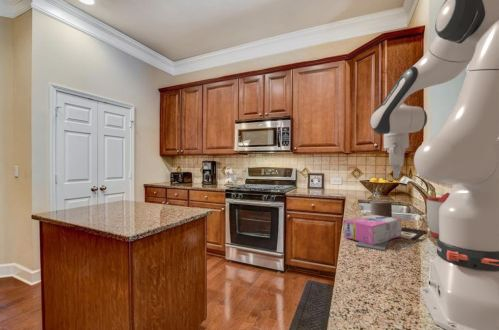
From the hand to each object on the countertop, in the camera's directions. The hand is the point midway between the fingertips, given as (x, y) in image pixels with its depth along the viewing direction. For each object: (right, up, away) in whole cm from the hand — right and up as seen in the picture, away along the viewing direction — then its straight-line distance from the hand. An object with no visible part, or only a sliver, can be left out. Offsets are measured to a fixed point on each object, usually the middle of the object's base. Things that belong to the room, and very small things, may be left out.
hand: (397, 178), depth 98 cm
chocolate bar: (+15, -28, +15) cm, 35 cm away
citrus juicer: (+29, -27, +9) cm, 41 cm away
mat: (-6, -27, +6) cm, 28 cm away
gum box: (-1, -23, +4) cm, 23 cm away
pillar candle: (+7, -27, +26) cm, 38 cm away
